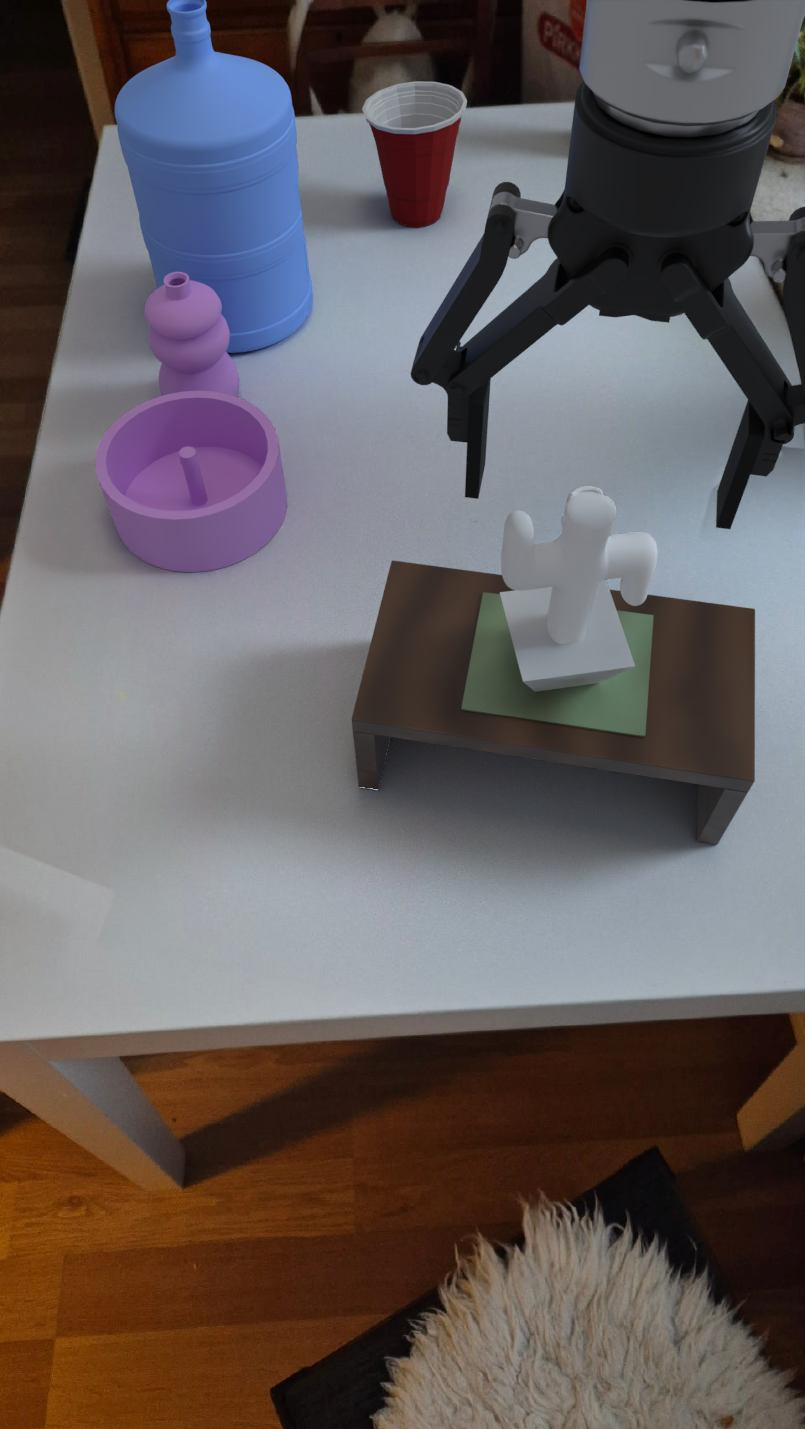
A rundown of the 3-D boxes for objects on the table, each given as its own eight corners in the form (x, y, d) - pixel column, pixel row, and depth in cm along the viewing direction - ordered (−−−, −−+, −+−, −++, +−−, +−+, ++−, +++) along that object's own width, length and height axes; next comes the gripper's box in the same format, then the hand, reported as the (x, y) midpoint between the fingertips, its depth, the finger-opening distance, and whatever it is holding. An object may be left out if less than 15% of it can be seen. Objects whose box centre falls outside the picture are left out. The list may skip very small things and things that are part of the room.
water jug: (274, 372, 99) (229, 65, 76) (135, 336, 102) (50, 31, 79) (338, 281, 107) (315, -23, 83) (206, 250, 110) (149, -51, 87)
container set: (289, 564, 86) (269, 447, 75) (109, 578, 85) (62, 462, 74) (282, 372, 99) (265, 248, 88) (127, 382, 99) (89, 259, 88)
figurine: (641, 696, 67) (693, 542, 54) (501, 715, 66) (520, 563, 53) (613, 610, 70) (655, 448, 58) (480, 628, 70) (493, 467, 57)
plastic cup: (415, 174, 118) (414, 63, 108) (483, 211, 113) (489, 99, 103) (347, 213, 114) (339, 101, 104) (414, 253, 109) (414, 141, 99)
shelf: (721, 684, 79) (756, 606, 71) (717, 845, 71) (756, 779, 63) (394, 637, 82) (391, 558, 73) (358, 788, 74) (350, 718, 66)
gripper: (329, 114, 37) (362, 517, 55) (1047, 170, 34) (834, 576, 52) (370, 17, 41) (388, 423, 59) (1018, 60, 38) (829, 473, 56)
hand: (597, 495), depth 56 cm, fingers open, 13 cm apart
